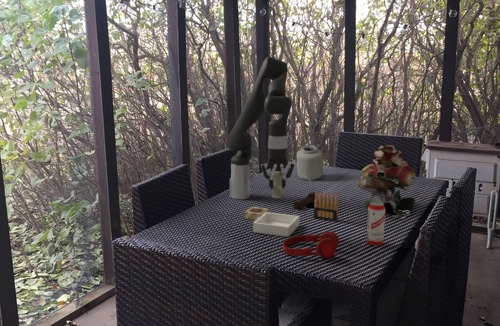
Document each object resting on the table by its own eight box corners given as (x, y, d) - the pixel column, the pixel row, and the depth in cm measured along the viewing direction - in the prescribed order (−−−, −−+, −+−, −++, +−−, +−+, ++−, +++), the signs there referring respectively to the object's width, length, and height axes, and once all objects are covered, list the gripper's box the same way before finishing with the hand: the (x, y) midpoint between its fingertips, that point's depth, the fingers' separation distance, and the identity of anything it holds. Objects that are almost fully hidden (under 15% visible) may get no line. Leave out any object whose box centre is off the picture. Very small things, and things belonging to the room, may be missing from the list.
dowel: (273, 198, 200) (273, 174, 198) (271, 195, 204) (271, 172, 201) (282, 198, 200) (283, 173, 198) (280, 195, 204) (281, 171, 202)
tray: (253, 232, 201) (253, 222, 200) (265, 220, 214) (265, 211, 213) (288, 237, 195) (288, 227, 194) (299, 225, 209) (299, 216, 208)
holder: (244, 218, 217) (244, 212, 217) (251, 212, 225) (251, 206, 224) (262, 221, 214) (262, 214, 213) (269, 215, 222) (269, 208, 221)
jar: (316, 183, 275) (317, 139, 270) (291, 181, 281) (292, 137, 275) (325, 176, 292) (327, 134, 287) (301, 174, 298) (302, 132, 292)
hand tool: (300, 211, 229) (300, 201, 228) (293, 209, 231) (293, 199, 230) (320, 201, 244) (320, 192, 243) (312, 199, 246) (313, 190, 245)
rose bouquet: (416, 202, 240) (421, 141, 234) (409, 221, 214) (414, 152, 208) (363, 197, 250) (366, 138, 244) (350, 213, 224) (353, 148, 218)
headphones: (341, 246, 185) (289, 247, 192) (339, 227, 184) (286, 230, 190) (336, 261, 172) (280, 262, 178) (333, 242, 170) (277, 243, 177)
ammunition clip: (338, 220, 215) (339, 193, 212) (336, 221, 213) (337, 195, 210) (314, 217, 219) (315, 190, 217) (313, 218, 218) (314, 191, 215)
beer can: (364, 241, 191) (366, 201, 188) (379, 240, 192) (382, 200, 188) (369, 247, 185) (371, 206, 182) (385, 246, 186) (388, 205, 182)
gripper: (261, 148, 193) (261, 191, 197) (297, 147, 195) (296, 190, 198) (258, 145, 200) (258, 186, 204) (292, 144, 202) (292, 185, 206)
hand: (277, 188), depth 201 cm, fingers closed on dowel, 4 cm apart
